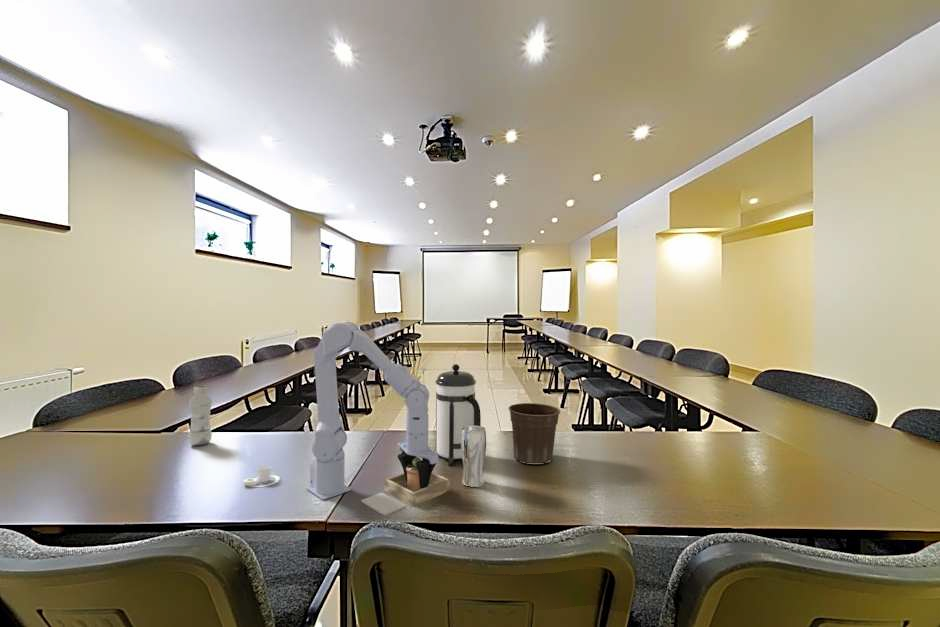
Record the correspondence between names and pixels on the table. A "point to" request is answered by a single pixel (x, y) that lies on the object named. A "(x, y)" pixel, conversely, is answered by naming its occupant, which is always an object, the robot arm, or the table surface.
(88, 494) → the table surface
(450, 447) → the coffee press
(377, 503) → the grey mat
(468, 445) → the silver drink can
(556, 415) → the plant pot
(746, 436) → the table surface
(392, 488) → the frame
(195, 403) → the plastic bottle
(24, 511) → the table surface
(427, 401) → the robot arm
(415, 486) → the terracotta pot
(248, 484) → the teacup and saucer
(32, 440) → the table surface
